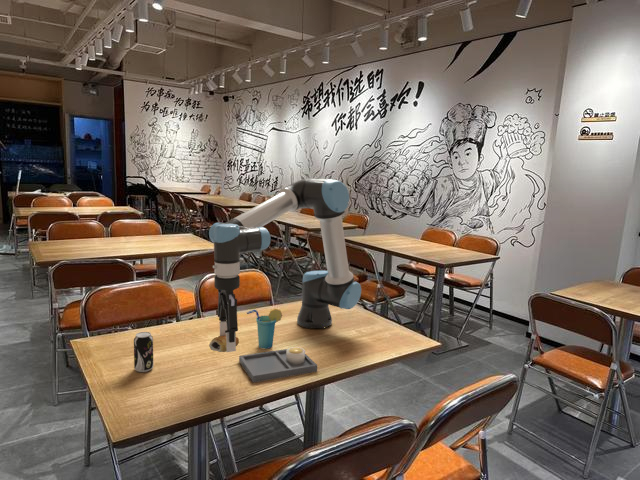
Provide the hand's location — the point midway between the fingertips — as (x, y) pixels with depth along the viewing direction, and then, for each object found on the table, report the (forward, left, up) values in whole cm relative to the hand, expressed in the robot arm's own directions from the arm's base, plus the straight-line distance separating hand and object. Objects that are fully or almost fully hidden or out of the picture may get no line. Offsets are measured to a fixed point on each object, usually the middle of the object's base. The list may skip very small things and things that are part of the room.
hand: (227, 345), depth 138 cm
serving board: (-2, +18, -11) cm, 21 cm away
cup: (-20, +19, -11) cm, 29 cm away
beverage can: (-15, -23, -11) cm, 30 cm away
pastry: (0, -1, -1) cm, 1 cm away
